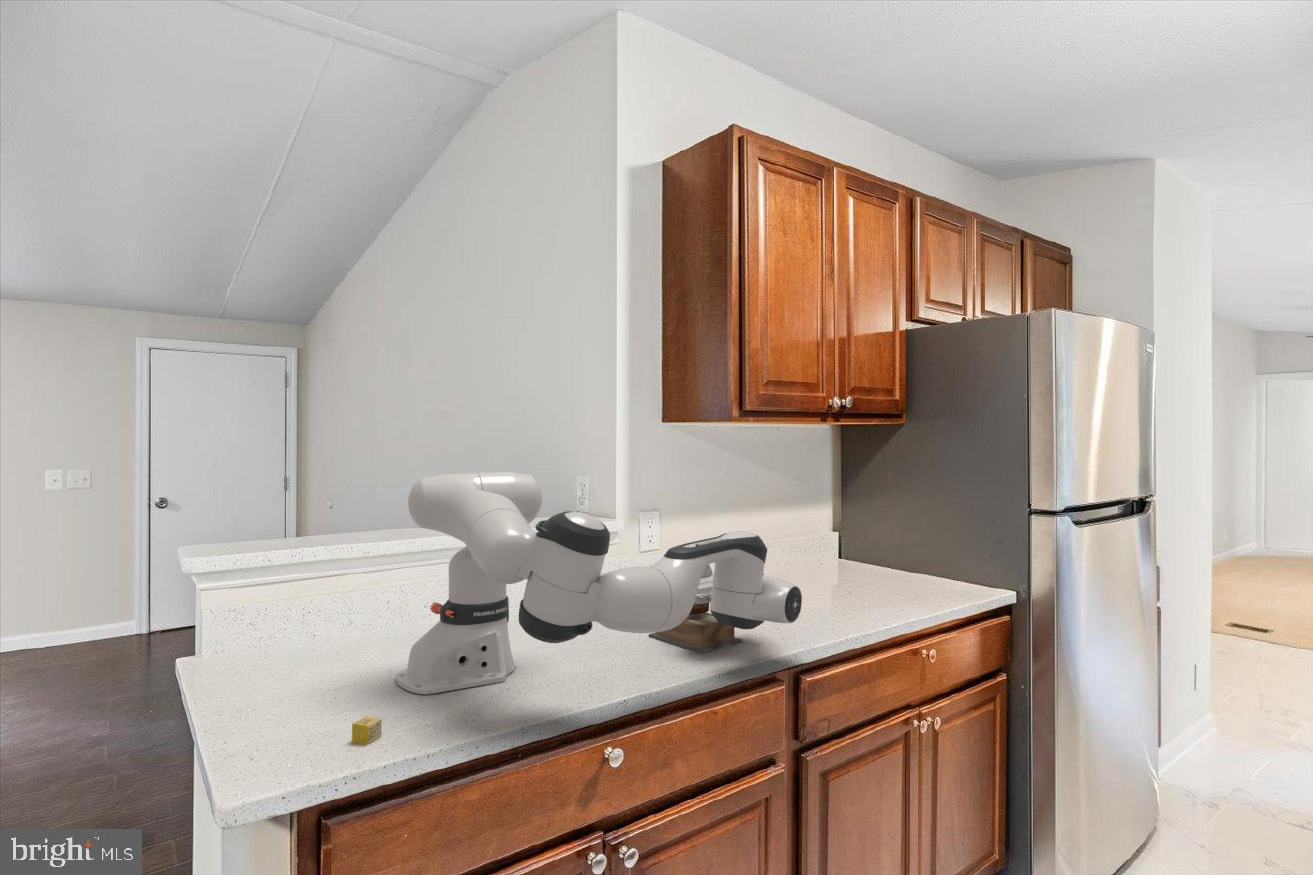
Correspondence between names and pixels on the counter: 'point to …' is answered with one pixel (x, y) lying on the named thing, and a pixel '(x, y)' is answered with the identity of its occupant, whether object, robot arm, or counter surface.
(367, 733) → the alphabet block
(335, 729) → the counter surface
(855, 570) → the counter surface
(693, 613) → the food container
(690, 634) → the walnut pedestal
